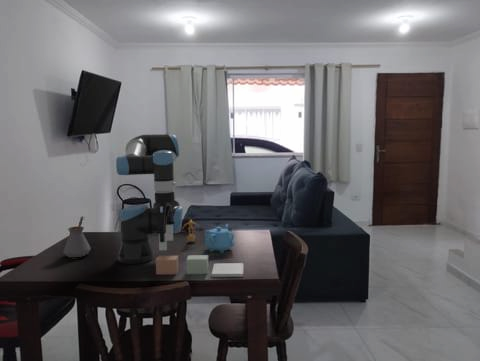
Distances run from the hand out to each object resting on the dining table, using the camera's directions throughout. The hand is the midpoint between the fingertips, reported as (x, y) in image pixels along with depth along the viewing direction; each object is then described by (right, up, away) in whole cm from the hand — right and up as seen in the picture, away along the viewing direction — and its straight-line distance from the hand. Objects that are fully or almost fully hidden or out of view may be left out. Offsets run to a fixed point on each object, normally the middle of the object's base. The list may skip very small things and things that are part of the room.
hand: (166, 245), depth 161 cm
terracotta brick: (0, -11, +2) cm, 11 cm away
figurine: (+5, -6, +42) cm, 43 cm away
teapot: (+20, -7, +30) cm, 37 cm away
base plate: (+24, -11, +1) cm, 26 cm away
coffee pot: (-45, -8, +29) cm, 55 cm away
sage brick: (+12, -11, +2) cm, 16 cm away
